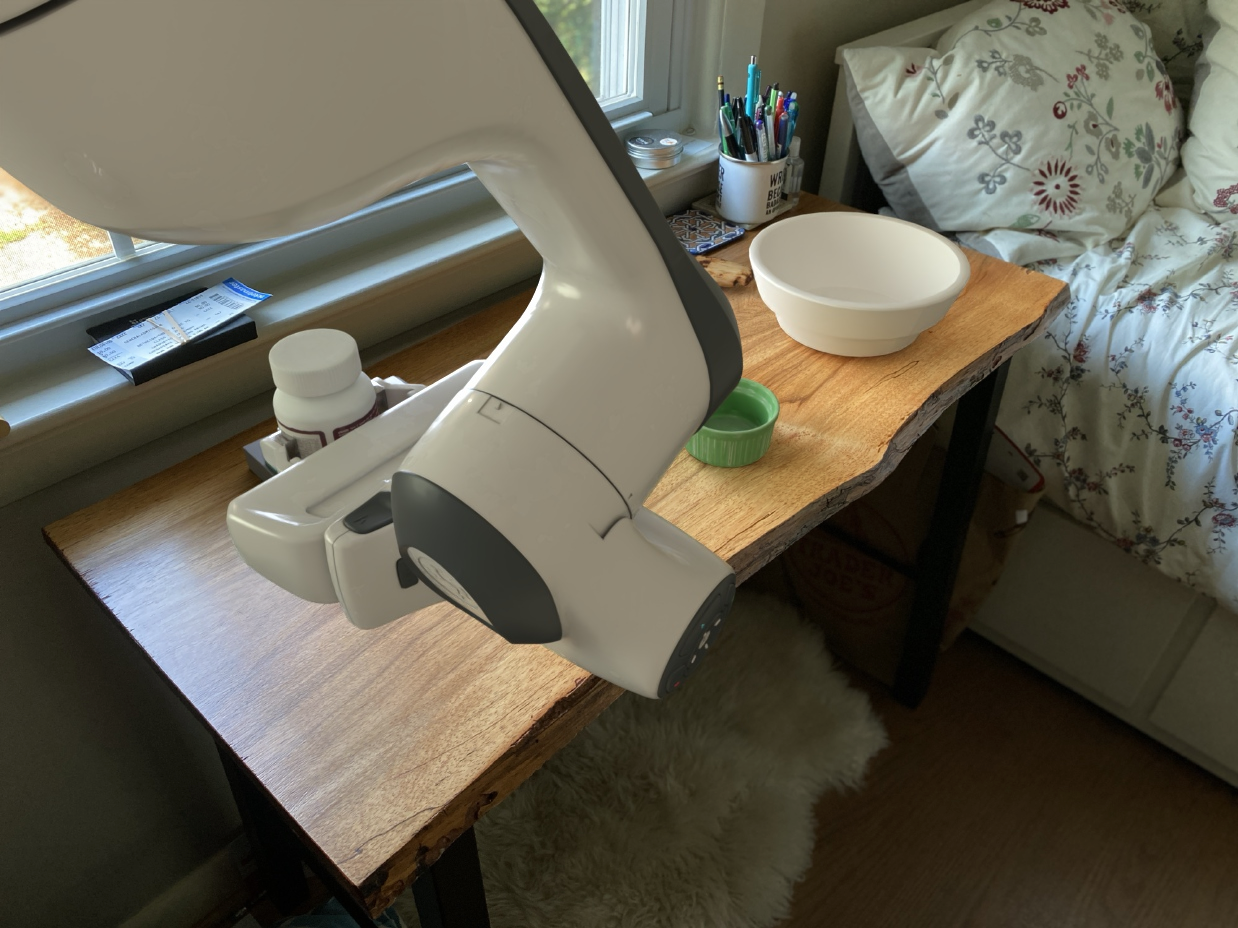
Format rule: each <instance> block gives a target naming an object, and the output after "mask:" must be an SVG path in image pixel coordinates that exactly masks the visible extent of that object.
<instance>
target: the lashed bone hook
mask: <svg viewBox="0 0 1238 928" xmlns="http://www.w3.org/2000/svg"><path fill="white" fill-rule="evenodd" d="M693 256H694V258H695V259H696V260H697V261H698V262H699V263H700V264H701V265H702V266H703V267H704V268H705V270H706V271H707V272H708V273H709V274H710V275H711V276H712V278H713V279H714V280H715V281H716V282H717V284H718V285H719V286H720V287H723V288H724V287H725V288H735V287H736V285H737V284H739V285H740V287H742V288H746V287H747V286H749V285H750V284H751V282H752V281H753V280H755V276H754V273H753V269H752V267H749V266H748V265H746V264H744V263H741V262H737V261H733V260H728V259H724V258H718V257H715V256H707V255H702V254H698V255H697V254H696V255H693Z"/></svg>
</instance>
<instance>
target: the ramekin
mask: <svg viewBox="0 0 1238 928" xmlns="http://www.w3.org/2000/svg"><path fill="white" fill-rule="evenodd" d="M780 405H781V404H780V401H779V399H778V397H777V395H776V394H775V393H774V392H773V391H772V390H771V389H770V388H768V387H767V386H765V385H764V384H762V383H759V382H758V381H754V380H753V379H749V378H745V377H741V380H740V382H739V384H738V385H737V387H736V388H735V389H734V390H733V392H732V393H731V394H730V395H729V396H728V397H727V399H726V400H725V401H724V402H723V403H722V404H721V406H720V407H719V408H718V409H717V410H716V411H715V413H714V414H713V415H712V416H711V417H710V419H709V420H708V421H707V422H706V423H705V424H704V426H703V427H702V428H701V429H700V430H699V431H698V432H697V433H696V434H695V435H693V436H692V437H691V439H690V440H689V442H688V443H687V444H686V446H685V447H684V449H685V450H686V451H687V453H689V454H690V455H691V456H692V457H693V458H695V459H696V460H698V461H700V462H702V463H705V464H707V465H710V466H714V467H721V468H737V467H738V468H739V467H744V466H747V465H751V464H753V463H755V462H757V461H759V460H760V459H761V458H763V457H764V456H765V455H766V454H767V451H768V450H769V449H770V446H771V442H772V438H773V433H774V429H775V424H776V422H777V421H778V419H779V415H780V410H781V406H780Z"/></svg>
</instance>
